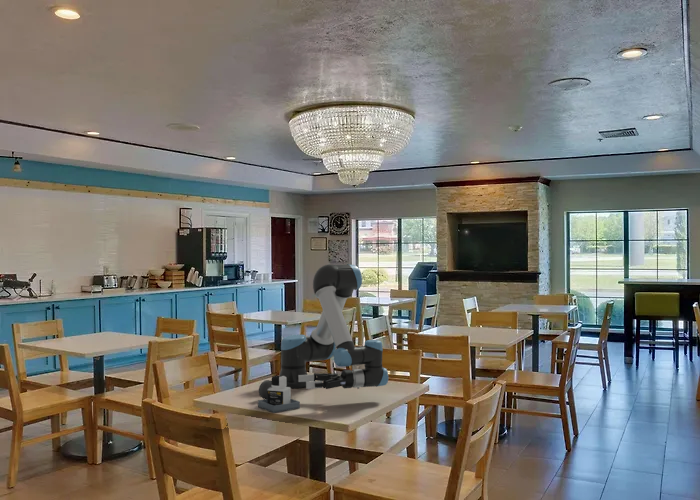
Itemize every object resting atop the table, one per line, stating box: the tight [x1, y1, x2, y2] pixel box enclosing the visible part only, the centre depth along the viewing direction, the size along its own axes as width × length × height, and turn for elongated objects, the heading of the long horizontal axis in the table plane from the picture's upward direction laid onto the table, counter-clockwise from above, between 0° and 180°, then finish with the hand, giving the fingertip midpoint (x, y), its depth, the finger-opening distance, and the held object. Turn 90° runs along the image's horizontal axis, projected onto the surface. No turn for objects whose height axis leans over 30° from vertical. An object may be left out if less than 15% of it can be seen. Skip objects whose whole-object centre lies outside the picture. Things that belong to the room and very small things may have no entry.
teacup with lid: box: [351, 364, 365, 371], centre depth 303 cm, size 12×9×12 cm
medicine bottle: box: [267, 374, 292, 406], centre depth 245 cm, size 7×7×12 cm
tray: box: [257, 398, 301, 414], centre depth 245 cm, size 12×12×3 cm
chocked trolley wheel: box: [258, 379, 272, 400], centre depth 260 cm, size 3×11×8 cm, turn 128°
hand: (302, 381), depth 248 cm, fingers open, 13 cm apart
